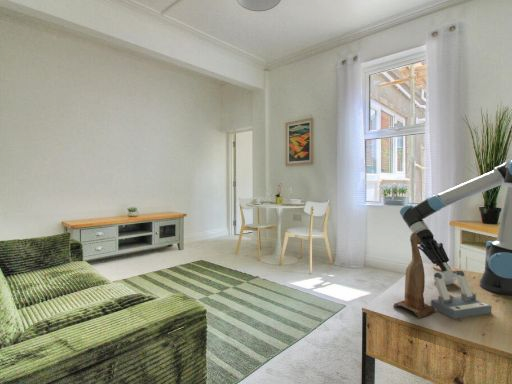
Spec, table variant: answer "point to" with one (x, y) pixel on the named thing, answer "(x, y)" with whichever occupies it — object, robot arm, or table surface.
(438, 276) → the lever
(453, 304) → the switch unit
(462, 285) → the marked lever
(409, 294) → the bird sculpture
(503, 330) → the table surface
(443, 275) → the lidded jar
